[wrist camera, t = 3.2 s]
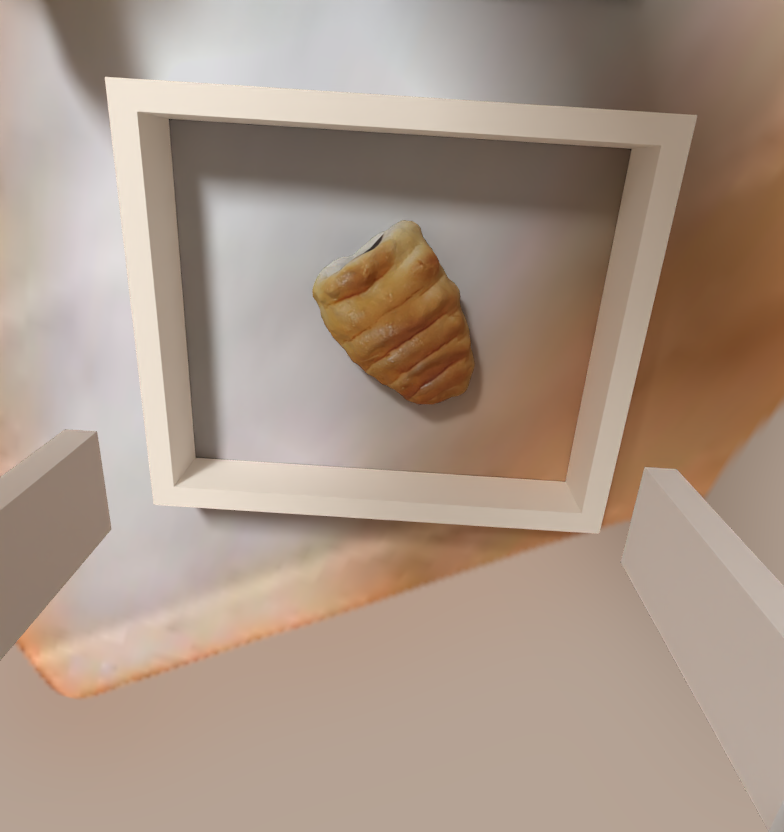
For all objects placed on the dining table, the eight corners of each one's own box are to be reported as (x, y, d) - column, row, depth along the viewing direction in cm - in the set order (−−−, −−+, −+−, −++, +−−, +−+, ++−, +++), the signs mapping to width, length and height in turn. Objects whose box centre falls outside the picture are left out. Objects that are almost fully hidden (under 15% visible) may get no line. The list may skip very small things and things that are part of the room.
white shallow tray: (177, 474, 35) (153, 504, 32) (140, 88, 27) (104, 76, 24) (581, 500, 35) (599, 533, 32) (662, 122, 27) (697, 115, 24)
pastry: (502, 356, 32) (514, 379, 28) (401, 418, 34) (399, 448, 30) (407, 206, 29) (407, 211, 25) (301, 283, 31) (287, 297, 27)
